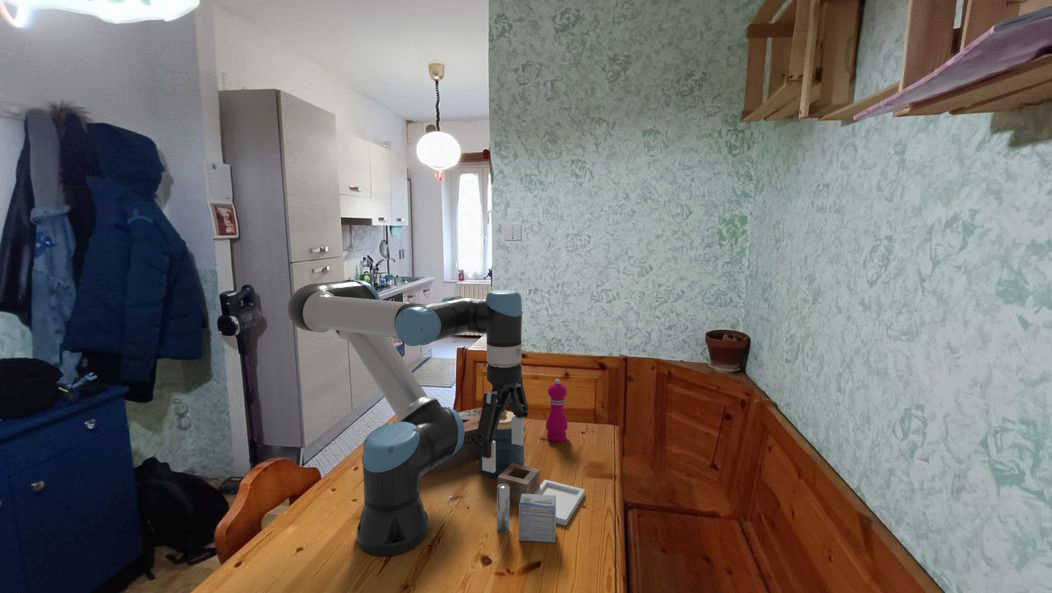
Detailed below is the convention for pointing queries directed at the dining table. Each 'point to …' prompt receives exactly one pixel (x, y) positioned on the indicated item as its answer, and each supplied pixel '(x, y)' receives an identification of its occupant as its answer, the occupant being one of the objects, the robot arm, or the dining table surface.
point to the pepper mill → (556, 413)
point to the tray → (562, 499)
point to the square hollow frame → (520, 481)
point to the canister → (504, 447)
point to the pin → (503, 507)
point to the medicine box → (537, 518)
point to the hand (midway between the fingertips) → (504, 456)
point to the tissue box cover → (469, 446)
